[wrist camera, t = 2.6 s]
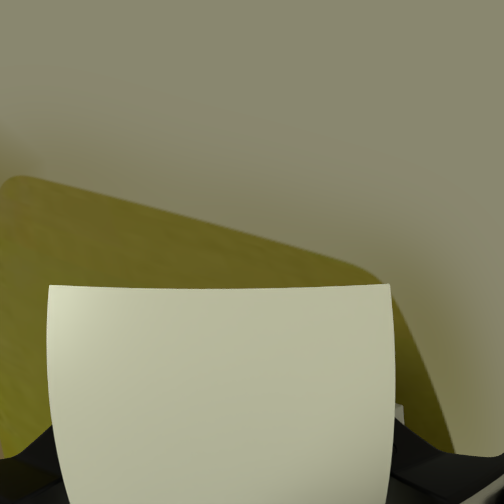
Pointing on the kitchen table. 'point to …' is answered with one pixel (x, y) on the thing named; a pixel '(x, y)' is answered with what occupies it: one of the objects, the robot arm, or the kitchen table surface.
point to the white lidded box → (222, 394)
